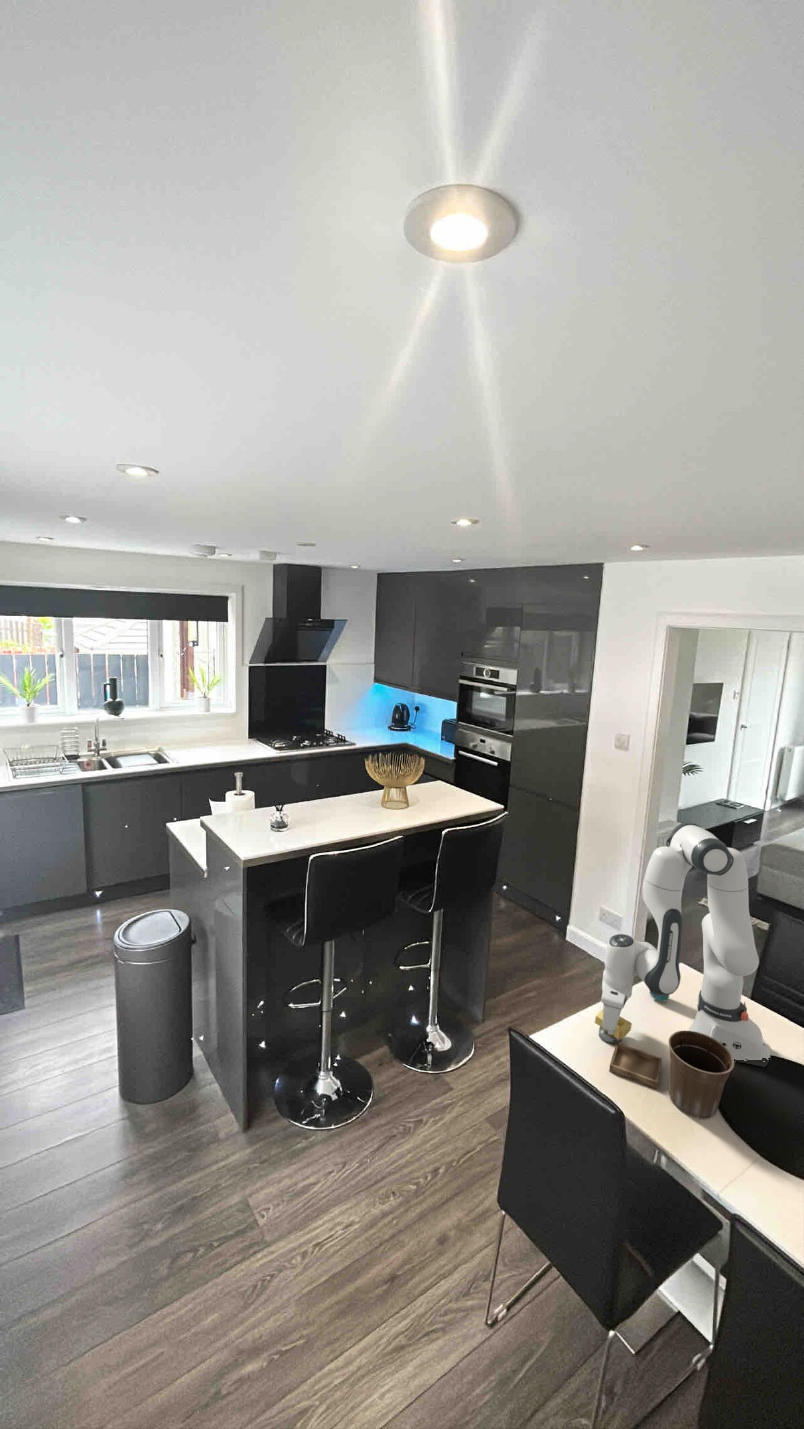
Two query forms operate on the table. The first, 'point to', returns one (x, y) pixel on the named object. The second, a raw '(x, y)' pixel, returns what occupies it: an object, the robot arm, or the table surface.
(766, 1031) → the table surface
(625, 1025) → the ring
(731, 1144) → the table surface
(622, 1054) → the tray
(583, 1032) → the table surface
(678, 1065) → the plant pot
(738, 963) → the robot arm
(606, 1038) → the silver knob
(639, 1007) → the table surface
